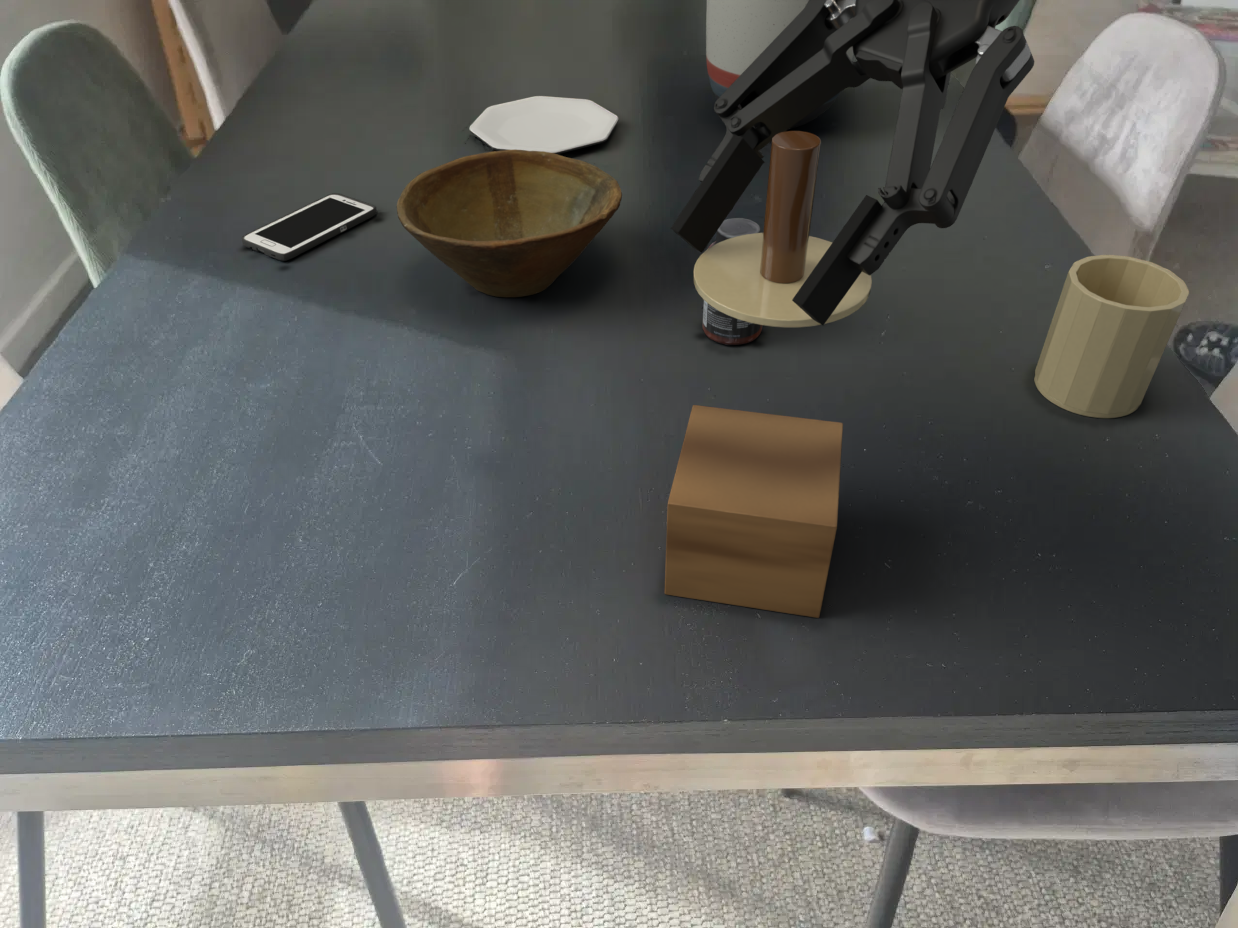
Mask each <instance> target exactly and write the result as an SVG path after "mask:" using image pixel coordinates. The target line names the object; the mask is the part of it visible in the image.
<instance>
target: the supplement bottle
mask: <svg viewBox="0 0 1238 928" xmlns="http://www.w3.org/2000/svg"><path fill="white" fill-rule="evenodd" d="M754 233H761V227H760V225H759V224H758V223H757V222H755V221H753V220H751V219H747V218H743V217H733V218H728V219H725V220H724V221H723V223H722V224H721V226H720V227H719V229H718V230H717V232H716V236H715V240H714V242H712V243H710V245H709V246H708V247H707V249H709V248H710V247H712V246H713V245H715V244H717V243H719V242H722V241H724V240H727V239H730V238H733V237H737V236H742V235H747V234H754ZM701 310H702V319H701V320H702V321H701V322H702V330H703V332H704V334H705V336H707V338H708V339H710V340H711V341H713V342H716V343H719V344H722V345H725V346H740V345H745V344H749V343H751V342H753V341H754V340H756V339H757V338H758V337H759V336H760V334H761V332H762V330H763V325H759V324H754V323H750V322H746V321H743V320H739V319H736V318H734V317H731V316H728V315H726V314H724V313H722V312H720V311H718V310H717V309H715V308H714V307H712V306H711V305H709V304H708V303H707V302H706V301H705V300H704V299H703V298H702V307H701Z"/></svg>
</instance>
